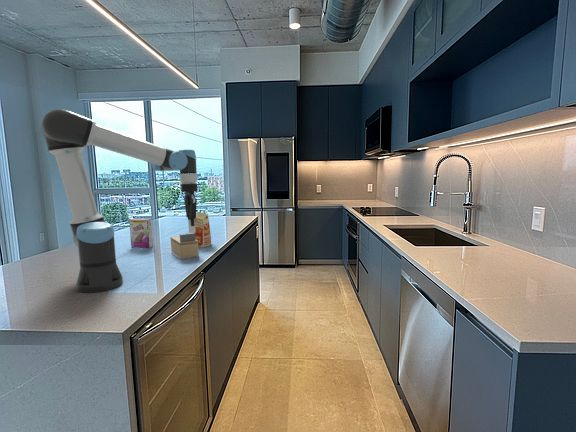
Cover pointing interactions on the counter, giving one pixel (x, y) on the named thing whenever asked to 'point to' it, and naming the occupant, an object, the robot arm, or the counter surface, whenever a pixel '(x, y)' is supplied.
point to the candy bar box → (141, 233)
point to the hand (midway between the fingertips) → (192, 232)
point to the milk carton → (202, 230)
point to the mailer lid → (185, 238)
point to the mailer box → (184, 250)
